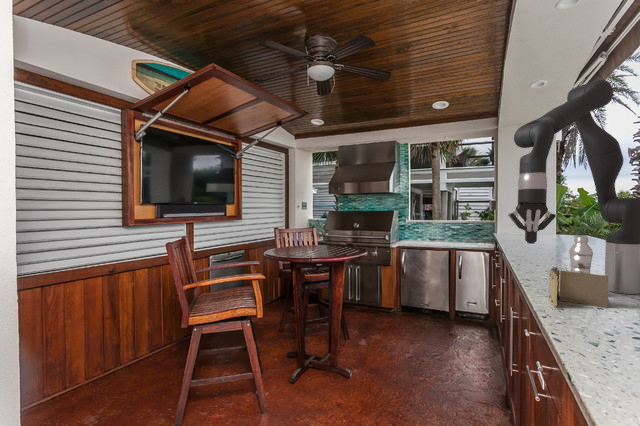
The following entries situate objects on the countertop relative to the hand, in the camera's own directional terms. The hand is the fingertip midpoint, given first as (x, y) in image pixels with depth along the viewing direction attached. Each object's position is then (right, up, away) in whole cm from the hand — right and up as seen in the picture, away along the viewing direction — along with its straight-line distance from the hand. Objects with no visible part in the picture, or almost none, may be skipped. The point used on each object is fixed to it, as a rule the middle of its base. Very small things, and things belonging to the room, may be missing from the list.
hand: (530, 243), depth 102 cm
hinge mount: (+16, -19, +2) cm, 25 cm away
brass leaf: (+8, -18, 0) cm, 20 cm away
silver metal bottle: (+23, -19, +9) cm, 31 cm away
